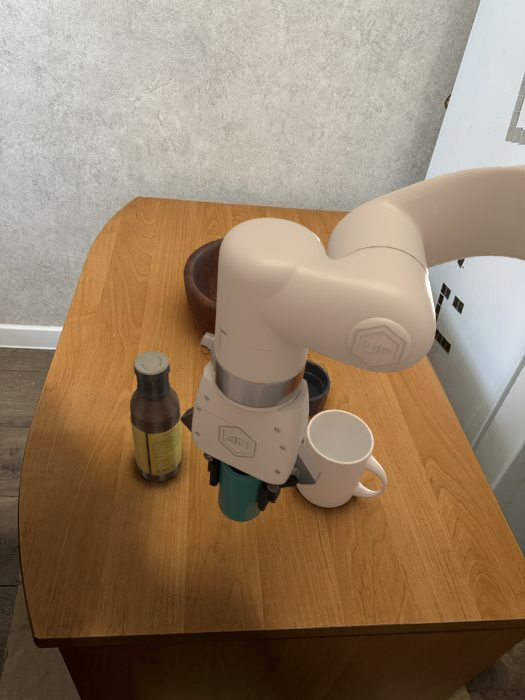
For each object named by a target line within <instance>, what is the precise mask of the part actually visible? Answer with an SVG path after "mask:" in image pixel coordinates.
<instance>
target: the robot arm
mask: <svg viewBox="0 0 525 700" xmlns="http://www.w3.org/2000/svg"><path fill="white" fill-rule="evenodd" d="M223 238H224V239H223V241H222V244H221V247H220V252H219V261H218V282H217V304H216V324H215V334H214V335H213V334H211V333H208V332H207V333H206V334H205V333H204V335H203V336H202V339H201V342H200V346H201V347H202V348H204V349H207V351H208V352H209V353H210V354H211V359H210V361H208V362H207V363H206V365H205V366H204V369H203V371H202V374H201V377H200V381H199V384H198V388H197V392H196V397H195V401H194V405H193V406H192V407H191V408H188V409H187V410H186V411H185V412H184V413H183V414H182V415H181V418H180V420H181V424H183V425H184V426H185V427H186V428H187V429H188V431H189V432H191V439H192V442H193V444H194V445H195V446H196V447H197V448H198V449H199V450H200V451H202V452H203V454H202V455H203V458H204V459H205V460H206V461H207V472H209V478H208V479H209V480H208V481H209V482H208V485H209V486H211V487H218V485H219V479H220V466H221V461H223V462H225V463H227V464H229V465H231V466H233V467H235V468H237V469H239V470H241V471H243V472H245V473H247V474H249V475H252V476H254V477H256V478H258V479H260V480H262V481H265V482H264V484H263V486H262V488H261V491H260V496H259V502H258V508H259V510H261V512H265V511H266V509H267V507H268V505H269V503H271V504H273V505H274V504H276V501H278V498H279V496H280V493H281V490H282V489H285V488H292V487H293V488H294V487H297V484H301V485H313V484H316V482H317V480H318V478H319V476H320V474H321V472H320V470H319V469H318V467H317V465H316V464H315V462H314V461H313V459H312V457H311V456H310V454H309V453H308V451H307V449H306V448H305V446H304V444H305V440H306V434H307V427H308V424H309V395H308V386H307V382H306V380H305V379H303V375H304V370H305V365H306V361H307V360H308V354H309V351H312V352H314V353H316V354H319V355H322V356H324V357H327V358H329V359H331V360H334V361H337V362H339V363H341V364H344V365H346V366H350V367H353V368H356V369H359V370H361V371H362V370H363V371H367V372H372V373H384V374H387V373H388V374H390V373H398V372H402V371H405V370H409V369H410V368H413V367H414V366H416V365H417V364H419V363H420V362H421V361H423V359H424V358H426V356H427V355H428V353H430V351H431V348H432V346H433V344H434V341H435V337H436V331H437V317H436V310H435V305H434V299H433V292H432V288H431V283H430V276H429V269H430V268H434V267H436V266H441V265H443V264H447V263H450V262H454V261H459V260H463V259H471V258H477V257H504V258H509V259H514V260H515V259H516V260H520V261H524V262H525V164H519V165H503V166H502V165H501V166H487V167H477V168H467V169H462V170H457V171H452V172H447V173H444V174H439V175H437V176H433V177H430V178H426V179H423V180H420V181H418V182H415V183H413V184H410V185H407V186H404V187H402V188H400V189H396V190H393V191H391V192H388V193H385V194H382V195H380V196H377V197H375V198H372V199H371V200H368V201H367V202H365V203H363V204H361V205H359V206H357V207H356V208H354V209H352V210H351V211H350V212H348V213H347V214H346V215H345V216H344V217H342V218H341V219H340V220H339V222H338V223H337V224H336V225H335V227H334V229H333V230H332V231H331V234H330V236H329V239H328V242H327V246H326V248H325V246H324V245H323V243H322V241H321V239H320V238H319V237H318V236H317V235H316V234H315V233H314V232H313V231H311V230H310V229H309V228H308V227H306V226H304V225H302V224H301V223H298V222H295V221H292V220H289V219H284V218H277V217H258V218H252V219H248V220H245V221H243V222H240V223H238V224H237V225H235V226H234V227H232V228H231V229H230V230H229V231H228V232H227V233H226V235H225V236H224V237H223Z"/></svg>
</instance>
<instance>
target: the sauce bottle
mask: <svg viewBox="0 0 525 700" xmlns="http://www.w3.org/2000/svg"><path fill="white" fill-rule="evenodd" d="M133 371H134V372H133V373H134V375H135V378H136V389H135V390H134V391H133V392H132V395H131V396H130V401H129V411H130V425H131V426H130V427H131V433H132V442H133V449H134V456H135V457H134V458H135V462H136V465H137V470H138V473H139V474H140V475H141V476H142V477H143V478H145V479H146V480H147V481H150V482H154V483H158V482H164V481H168V480H170V479H172V478H173V477H175V476H176V474H177V473H178V472H179V471H180V469H181V466H182V458H183V439H182V422H181V420H180V418H181V417H182V414H181V413H182V411H181V405H180V397H179V396H178V393H177V392H176V391H175V389H174V388H172V386H171V383H170V376H169V375H170V372H171V363H170V359H169V357H168V356H167V355H166V354H164V353H163V352H161V351H159V350H158V351H157V350H148V351H145V352H144V351H143V352H141V353H140V354H138V355H137V356H136V357H135V359H134V361H133Z"/></svg>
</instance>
